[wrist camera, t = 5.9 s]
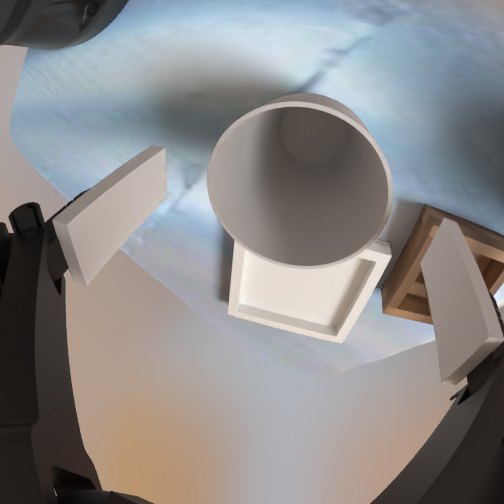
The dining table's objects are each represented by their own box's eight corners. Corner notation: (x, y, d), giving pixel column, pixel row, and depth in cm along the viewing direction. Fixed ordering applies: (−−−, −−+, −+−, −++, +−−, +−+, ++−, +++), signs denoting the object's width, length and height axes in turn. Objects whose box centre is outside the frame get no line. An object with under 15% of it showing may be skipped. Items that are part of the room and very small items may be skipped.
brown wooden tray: (381, 290, 27) (382, 313, 25) (425, 204, 21) (433, 225, 18) (458, 309, 26) (463, 331, 24) (507, 237, 19) (519, 258, 17)
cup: (237, 118, 21) (173, 170, 13) (328, 57, 16) (323, 62, 9) (299, 199, 24) (276, 288, 16) (389, 153, 19) (420, 230, 12)
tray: (232, 302, 34) (227, 314, 32) (243, 204, 25) (237, 215, 24) (342, 330, 32) (341, 343, 31) (389, 242, 24) (391, 256, 22)
